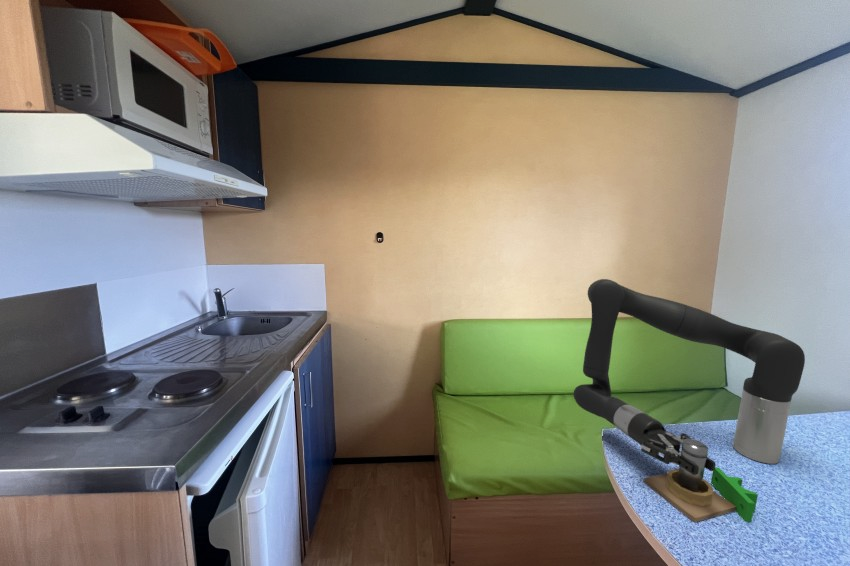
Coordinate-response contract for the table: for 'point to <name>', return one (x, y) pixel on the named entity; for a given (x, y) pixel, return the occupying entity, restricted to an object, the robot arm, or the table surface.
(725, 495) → the green bracket
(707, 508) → the ring seat
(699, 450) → the grey lidded jar
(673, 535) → the table surface
